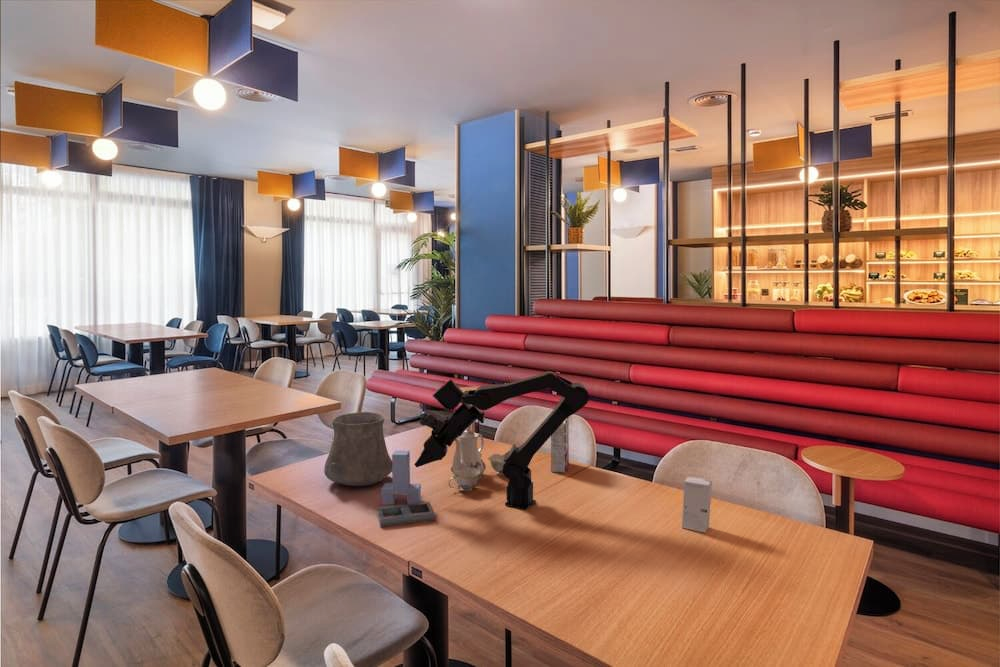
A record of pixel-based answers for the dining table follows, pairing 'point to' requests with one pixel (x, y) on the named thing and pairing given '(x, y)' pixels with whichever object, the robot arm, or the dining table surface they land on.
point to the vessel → (358, 450)
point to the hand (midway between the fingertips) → (418, 460)
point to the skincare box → (696, 504)
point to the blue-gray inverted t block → (401, 480)
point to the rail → (405, 514)
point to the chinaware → (471, 461)
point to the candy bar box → (560, 448)
